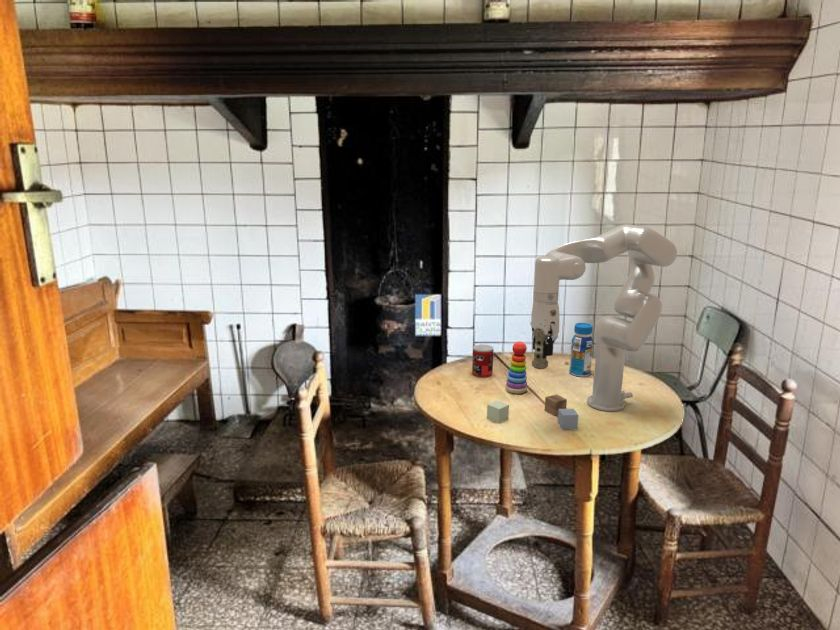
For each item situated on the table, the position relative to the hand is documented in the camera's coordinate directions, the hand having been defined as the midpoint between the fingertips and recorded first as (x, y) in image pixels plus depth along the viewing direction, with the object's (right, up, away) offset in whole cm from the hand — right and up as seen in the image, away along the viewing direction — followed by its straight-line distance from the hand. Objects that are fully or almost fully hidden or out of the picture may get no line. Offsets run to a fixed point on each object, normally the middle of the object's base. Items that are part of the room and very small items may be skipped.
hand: (542, 351), depth 201 cm
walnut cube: (+7, -21, +15) cm, 27 cm away
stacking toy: (-3, -16, +33) cm, 37 cm away
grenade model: (0, -5, +1) cm, 5 cm away
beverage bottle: (+24, -12, +50) cm, 57 cm away
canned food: (-14, -12, +49) cm, 52 cm away
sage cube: (-13, -23, +9) cm, 28 cm away
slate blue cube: (+9, -24, +4) cm, 26 cm away
